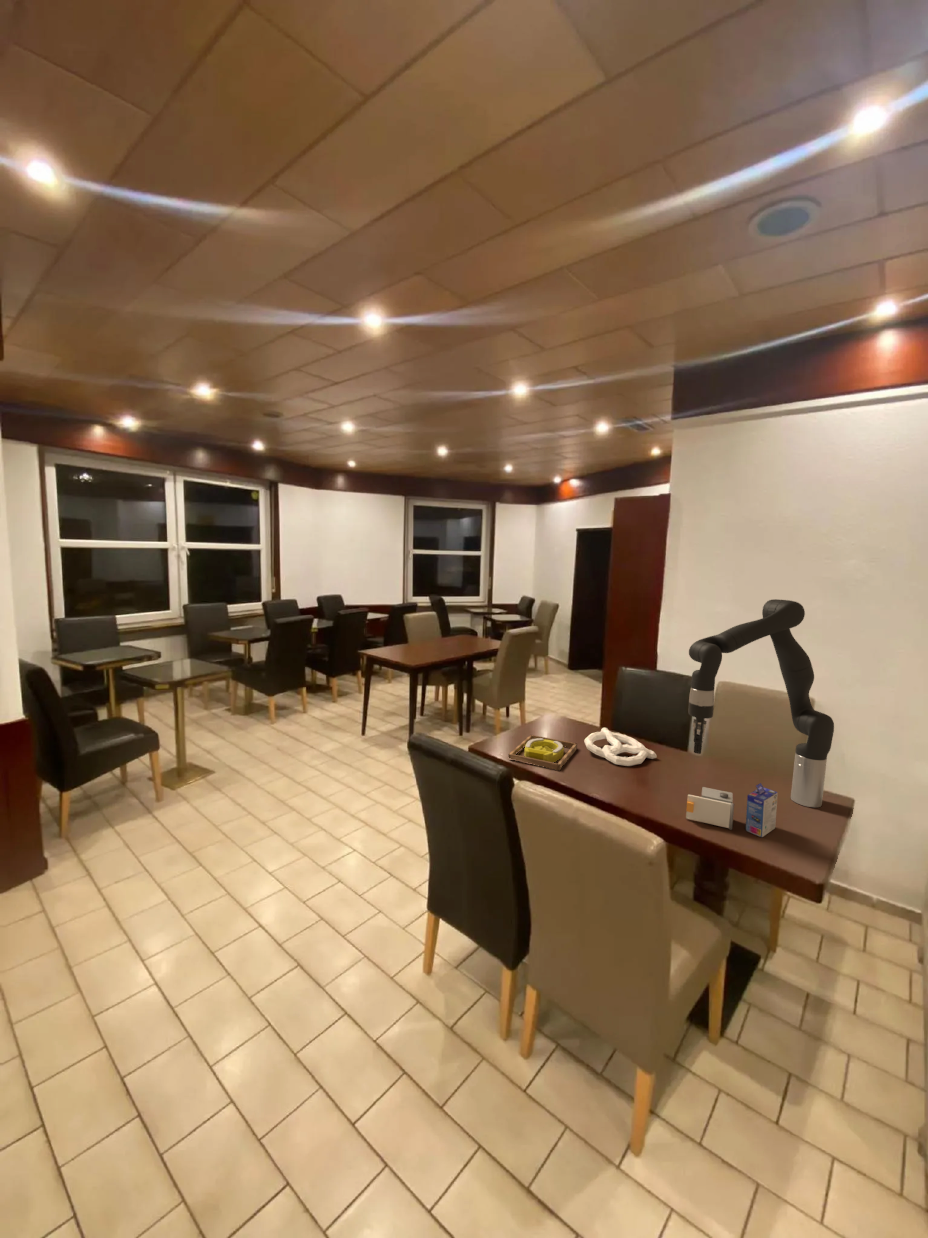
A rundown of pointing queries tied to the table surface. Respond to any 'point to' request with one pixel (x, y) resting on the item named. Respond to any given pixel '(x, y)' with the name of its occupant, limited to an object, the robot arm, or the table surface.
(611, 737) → the pretzel
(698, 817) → the door
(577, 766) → the table surface
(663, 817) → the table surface
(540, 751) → the ashtray
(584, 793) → the table surface
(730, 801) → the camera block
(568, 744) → the wooden tray
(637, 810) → the table surface
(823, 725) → the robot arm
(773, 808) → the ink cartridge box
